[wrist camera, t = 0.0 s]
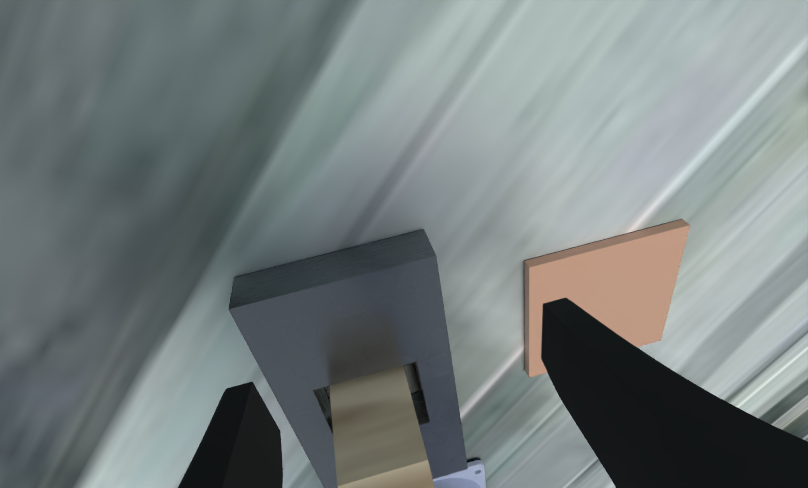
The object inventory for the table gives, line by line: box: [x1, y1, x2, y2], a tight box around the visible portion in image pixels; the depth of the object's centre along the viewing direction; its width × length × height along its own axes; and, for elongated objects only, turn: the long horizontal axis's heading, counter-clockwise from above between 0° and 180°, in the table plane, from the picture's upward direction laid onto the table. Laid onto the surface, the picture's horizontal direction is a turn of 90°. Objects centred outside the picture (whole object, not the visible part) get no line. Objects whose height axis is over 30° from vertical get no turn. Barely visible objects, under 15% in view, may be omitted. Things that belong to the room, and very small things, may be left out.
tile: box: [524, 220, 690, 377], centre depth 26 cm, size 9×9×1 cm
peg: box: [329, 366, 435, 488], centre depth 23 cm, size 4×4×7 cm
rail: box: [229, 229, 468, 488], centre depth 25 cm, size 18×9×2 cm, turn 9°
